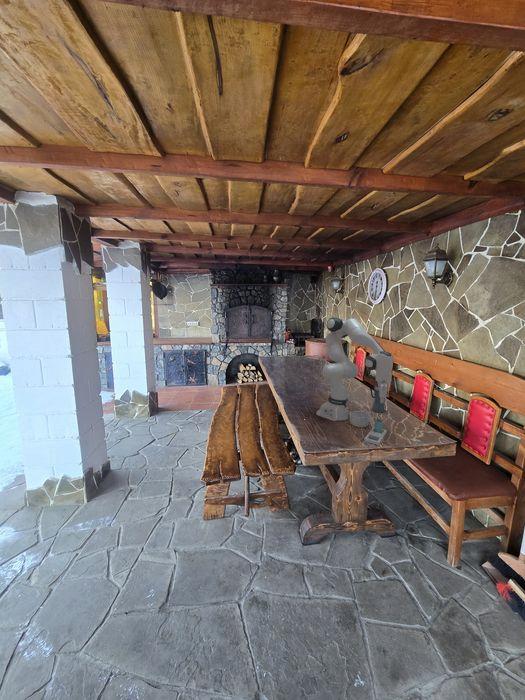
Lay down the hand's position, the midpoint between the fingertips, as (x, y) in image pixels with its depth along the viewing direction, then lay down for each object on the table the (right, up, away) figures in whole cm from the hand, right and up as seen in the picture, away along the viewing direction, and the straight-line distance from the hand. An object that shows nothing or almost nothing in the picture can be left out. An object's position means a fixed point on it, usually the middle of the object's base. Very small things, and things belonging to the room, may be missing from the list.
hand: (381, 400), depth 172 cm
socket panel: (-4, -22, -3) cm, 23 cm away
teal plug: (-1, -21, +2) cm, 21 cm away
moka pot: (+15, -16, +41) cm, 46 cm away
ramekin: (-8, -19, +16) cm, 26 cm away
